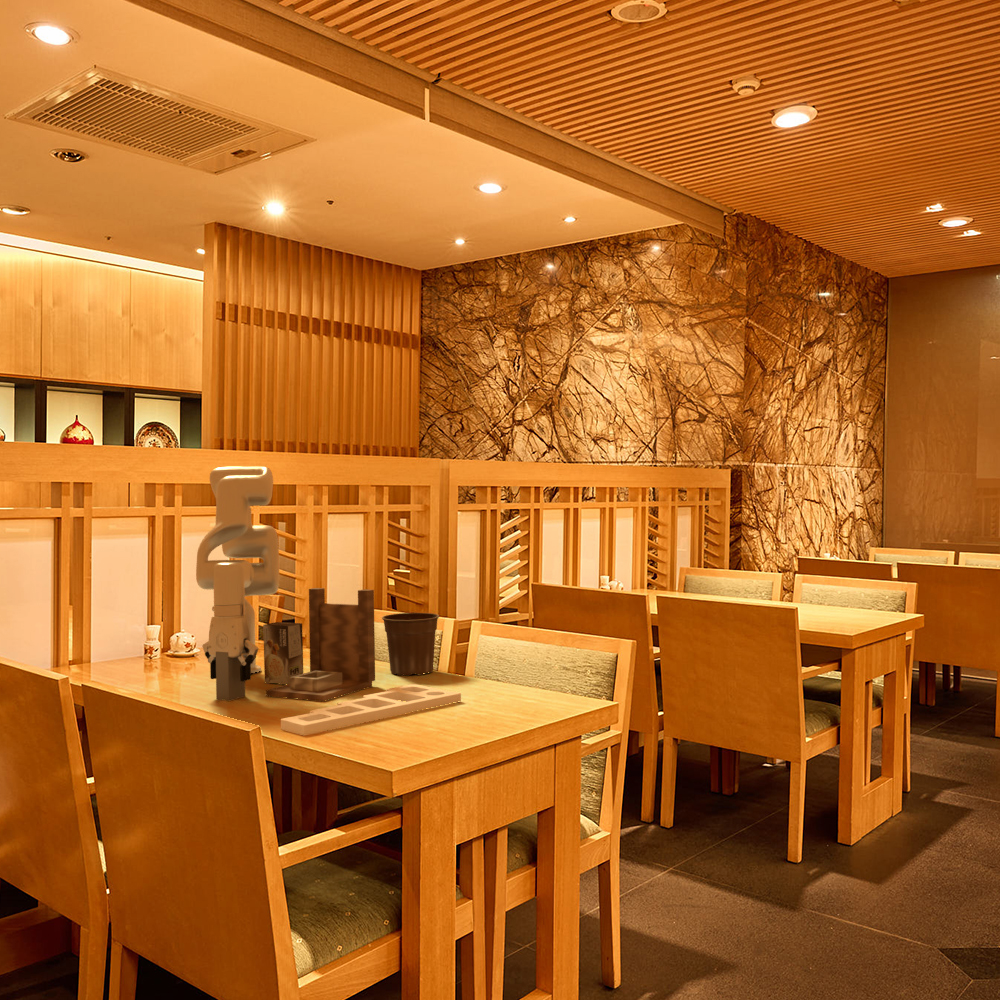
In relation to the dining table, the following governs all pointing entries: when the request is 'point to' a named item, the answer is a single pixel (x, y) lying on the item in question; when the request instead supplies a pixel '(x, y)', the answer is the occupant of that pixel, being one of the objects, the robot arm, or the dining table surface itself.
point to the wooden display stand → (336, 649)
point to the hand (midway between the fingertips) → (230, 679)
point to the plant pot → (411, 642)
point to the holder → (369, 708)
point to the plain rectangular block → (228, 677)
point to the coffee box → (282, 651)
